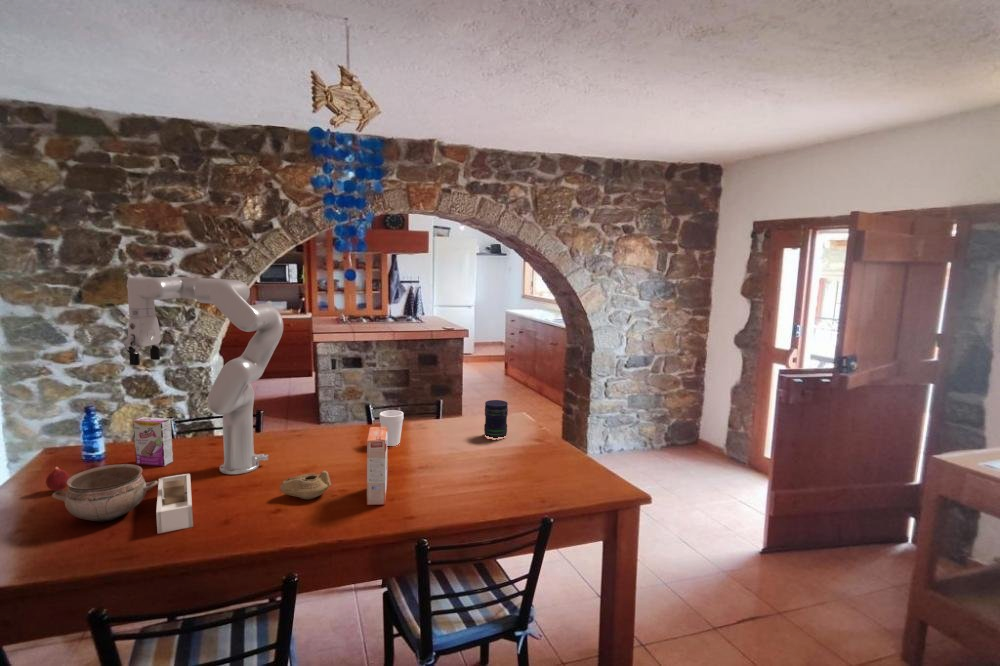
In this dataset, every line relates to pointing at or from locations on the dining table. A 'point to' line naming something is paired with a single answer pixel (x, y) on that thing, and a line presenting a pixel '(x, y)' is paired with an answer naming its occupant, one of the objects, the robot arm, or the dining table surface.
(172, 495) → the walnut block
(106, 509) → the cooking pot
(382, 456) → the cracker box
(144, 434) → the candy bar box
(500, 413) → the storage jar
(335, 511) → the dining table surface
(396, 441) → the foam cup
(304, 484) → the oil lamp
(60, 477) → the onion
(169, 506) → the box
